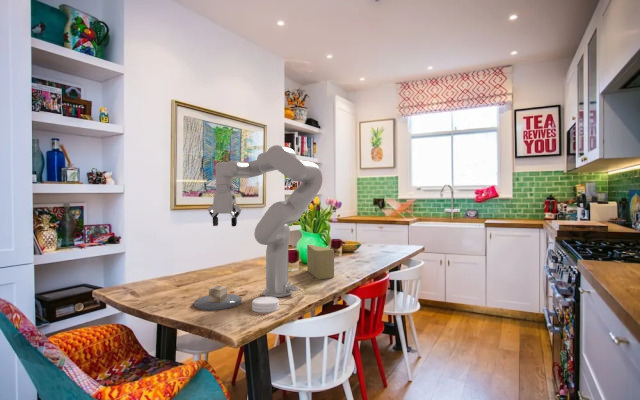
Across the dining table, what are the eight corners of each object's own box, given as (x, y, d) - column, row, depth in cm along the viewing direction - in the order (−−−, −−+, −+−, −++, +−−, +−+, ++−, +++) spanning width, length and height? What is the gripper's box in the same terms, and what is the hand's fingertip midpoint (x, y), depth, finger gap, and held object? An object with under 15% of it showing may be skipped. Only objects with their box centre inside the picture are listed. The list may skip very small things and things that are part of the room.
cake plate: (249, 298, 149) (249, 295, 149) (225, 312, 131) (225, 309, 131) (211, 295, 154) (211, 292, 154) (184, 308, 137) (183, 305, 137)
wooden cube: (227, 298, 144) (227, 286, 144) (220, 302, 139) (220, 289, 139) (216, 298, 146) (216, 285, 146) (209, 301, 141) (208, 288, 141)
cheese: (300, 271, 200) (300, 244, 200) (316, 270, 204) (316, 243, 204) (317, 280, 180) (317, 250, 180) (334, 278, 184) (334, 248, 184)
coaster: (280, 304, 141) (279, 295, 141) (277, 313, 131) (277, 303, 131) (254, 305, 140) (254, 296, 140) (250, 313, 130) (249, 304, 130)
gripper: (245, 188, 168) (245, 225, 168) (212, 189, 173) (213, 225, 174) (236, 188, 161) (237, 227, 161) (203, 189, 166) (203, 226, 166)
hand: (224, 226), depth 167 cm, fingers open, 9 cm apart
